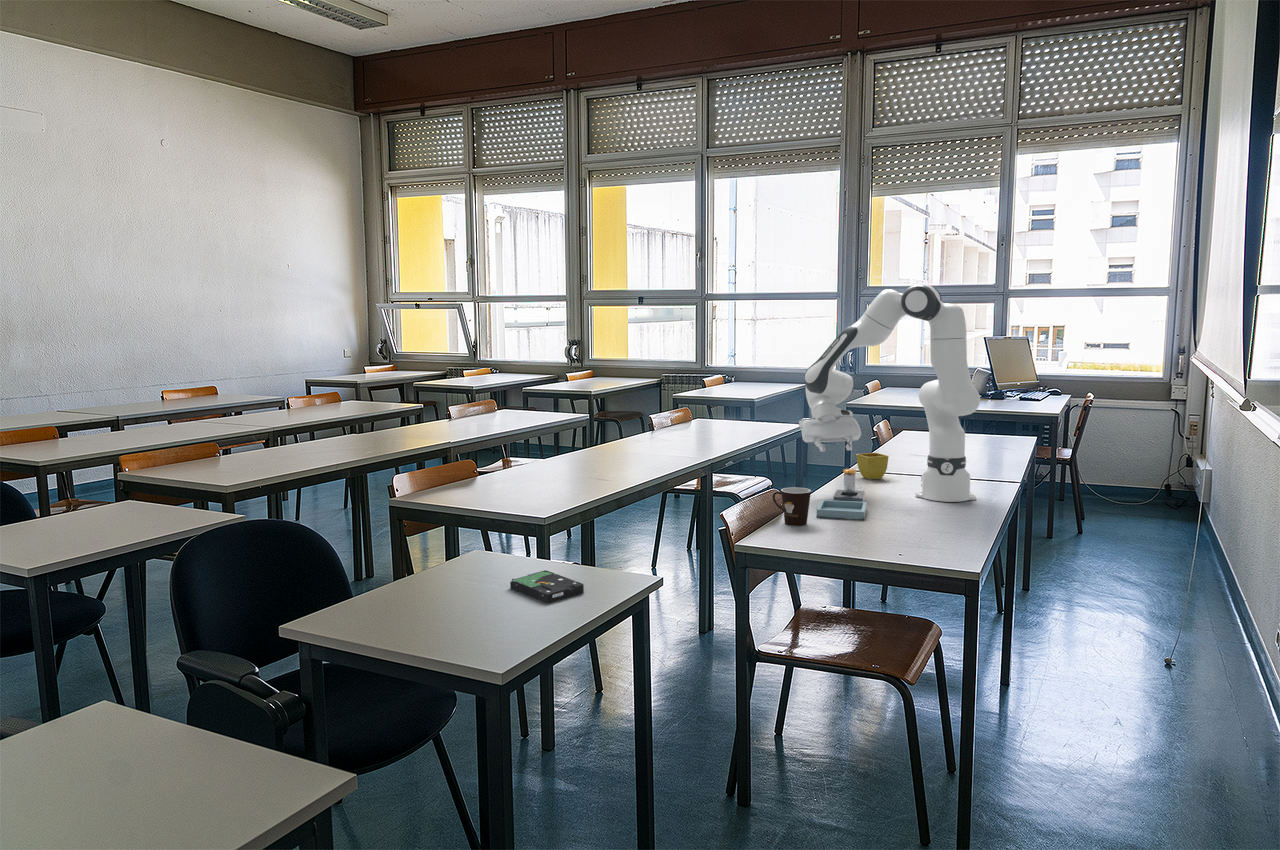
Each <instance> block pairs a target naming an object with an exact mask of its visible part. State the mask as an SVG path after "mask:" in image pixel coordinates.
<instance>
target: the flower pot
mask: <svg viewBox="0 0 1280 850" xmlns="http://www.w3.org/2000/svg"><path fill="white" fill-rule="evenodd" d="M855 455H856V463H857V468H858V471H859V474H860V475H861V477H862V478H863V477H865V478H864V479H867V480H870V479H872V480H880V479H883V477H884V475H885V474H886V472H887V469H888V463H889V455H886V454H884V453H879V452H869V453H868V452H867V453H866V452H865V453H856V454H855Z"/></svg>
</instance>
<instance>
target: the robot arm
mask: <svg viewBox="0 0 1280 850" xmlns="http://www.w3.org/2000/svg"><path fill="white" fill-rule="evenodd" d="M964 313H965V312H964V310H963V308H962V307H961V306H960V305H958V304H955V303H946V302H943V300H942V295H941V293H940V291H939V290H938V289H937V288H936V287H934V286H932V285H930V284H926V283H918V284H914V285H911V286H909V287H907V289H905V290H904V291H903V292H902V293H901V292H899V291H897V290H894V289H892V288H890V289H889V288H888V289H884V290H882V291H880V292H879V293H878V295H877V296H876V297H875V298H874V299H873V300H872V301H871V302H870V304H869V306H868V307H867V309H865V311H864V313H863V314H862V315H861V317H860V318H859V319H857V321H856V322H855V323H852V325H850V326H847V327H845V328H844V329H843V330H842V331H841V332H840V333H839V334H838V336H836V337H835V338H834V340H833V341H832V342H831V343H830V345H829V346H828V347H827V348H826V349H825V351H824V352H823V354H821V355H820V356H819V358H818V359H817V360H816V361H814V363H813V364H811V365H810V366H809V367H808V368H807V369H806V371H805V373H804V378H803V379H804V385H805V397H806V401H807V404H808V406H809V409H810V410H811V411H810V413H811V417H809V418H802V419H800V420H799V421H798V425H799V428H800V430H801V437H802V438H801V439H802V440H803V442H805V443H813V444H814V445H815V446H816V447H817V448H818V449H819V452H822V453H823V452H826V449H827V447H826V444H823V442H824V443H830V442H832V443H833V442H847V443H846V445H845V448H846V451H852V450H853V445H852V444H853V441H856V442H857V441H858V440H859V439H860V438H861V435H862V430H861V428H860V427H861V426H860V425H859V423H858V421H857V420H856V419H855V417H853V416H854V415H853V413H854V412H853V411H851V410H847V409H843V408H841V407H838V406H837V405H839V404H841V403H843V402H844V401H846V400H847V399H848V398H849V397H851V395H852V394H853V392H854V388H855V383H854V378H853V377H852V375H850V374H848V373H845V372H843V371H841V370H838V369H835V366H836V365H837V364H838V363H839V362H840V360H842V358H843V357H844V356H845V355H846V353H847V352H849V351H850V350H852V349H856V348H859V347H860V348H861V347H863V348H864V347H876V346H879V345H881V344H883V343H884V342H885V341H886V340H887V339H888V338H889V337H890V335H891V334H892V332H893V331H894V329H895V327H896V326H897V325H898V323H899V322H900V320H901V319H902V318H904V317H905V316H909V317H912V318H915V319H919V320H923V321H926V322H928V324H929V329H930V333H929V335H930V339H929V340H930V350H929V352H930V359H929V360H930V364H931V366H932V367H933V369H934V371H935V374H936V378H937V379H933V380H931V381H930V380H929V381H927V382H925V383H924V384H923V385H922V386H920V389H919V392H918V399H919V400H918V401H919V402H920V404H921V406H922V407H923V409H924V413H925V416H926V420H927V421H926V422H927V426H928V432H929V435H928V436H929V442H928V446H929V447H928V449H929V451H928V455H927V458H926V459H927V460H926V462H927V464H926V466H927V468H925V470H924V471H923V472H922V474H921V477H920V478H921V480H920V481H921V482H922V483H921V484H920V487H921V488H920V489H919V490H918V491H917V492H916V493H915V497H917V498H923V499H926V500H929V501H935V502H944V503H945V502H946V503H955V502H957V503H958V502H966V501H971V500H972V501H973V500H976V499H977V496H976V495H975V494H974V493H973V492H971V474H970V473H969V472H968V471H967V469H966V466H967V457H966V455H965V454H966V453H965V452H966V432H965V430H964V428H963V427H962V425H961V422H960V418H959V417H964V416H969V415H972V414H973V413H974V412H976V411H977V410H978V408H979V406H980V403H981V395H980V393H979V391H978V390H977V389H976V387H975V386H974V383H973V381H972V377H971V374H970V370H969V366H968V360H967V357H968V355H967V354H968V353H967V352H968V351H967V346H968V345H967V325H966V324H967V323H966V317H965V314H964Z"/></svg>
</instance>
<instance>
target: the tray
mask: <svg viewBox="0 0 1280 850" xmlns="http://www.w3.org/2000/svg"><path fill="white" fill-rule="evenodd" d="M867 505H868V502H867V501H864V502H854V501H834V499H833V500H831V499H821V500H820V502H819V504H818V507H817V508H816V518H817V517H827V518H826V519H834V518H847V519H846V520H852V519H864V518H866V515H865V514H867V511H866V510H868V509H867V508H868V506H867ZM848 518H849V519H848ZM864 520H865V519H864Z"/></svg>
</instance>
